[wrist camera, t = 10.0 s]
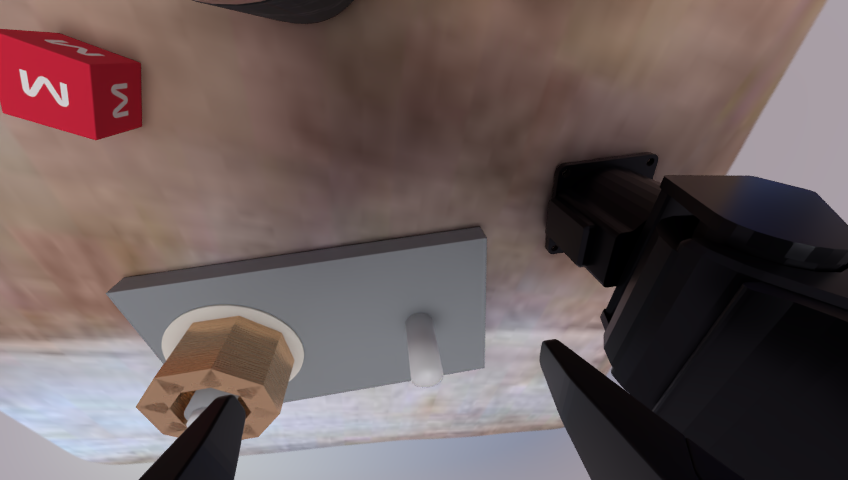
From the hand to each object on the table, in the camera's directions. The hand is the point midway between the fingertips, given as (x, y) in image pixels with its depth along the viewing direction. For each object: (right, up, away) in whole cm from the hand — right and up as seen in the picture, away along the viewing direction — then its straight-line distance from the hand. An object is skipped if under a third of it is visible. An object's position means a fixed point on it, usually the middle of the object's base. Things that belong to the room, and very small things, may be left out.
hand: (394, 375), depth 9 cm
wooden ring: (-12, -4, +13) cm, 18 cm away
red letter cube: (-14, +11, +6) cm, 19 cm away
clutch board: (-6, -2, +14) cm, 16 cm away
